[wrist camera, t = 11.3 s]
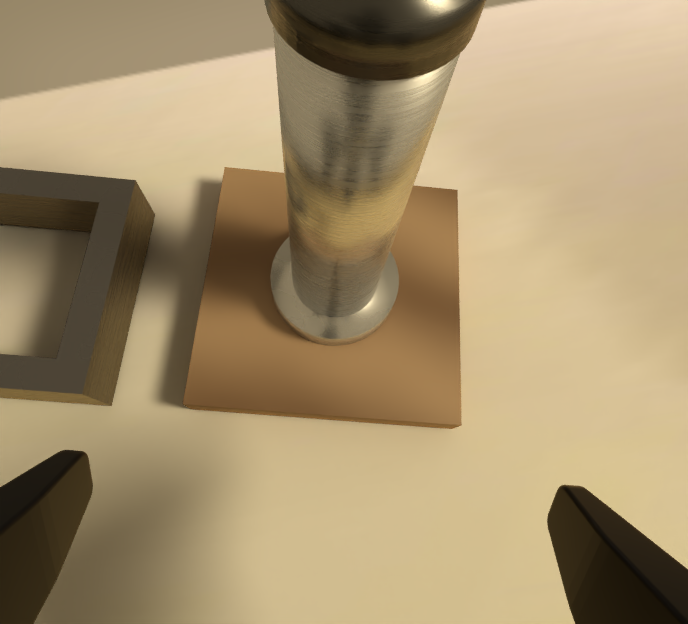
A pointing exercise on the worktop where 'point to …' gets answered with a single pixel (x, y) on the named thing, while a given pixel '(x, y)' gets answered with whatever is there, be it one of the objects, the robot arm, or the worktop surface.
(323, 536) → the worktop surface
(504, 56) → the worktop surface
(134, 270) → the holder
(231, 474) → the worktop surface
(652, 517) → the worktop surface
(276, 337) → the walnut pad
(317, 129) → the capped metal cylinder
